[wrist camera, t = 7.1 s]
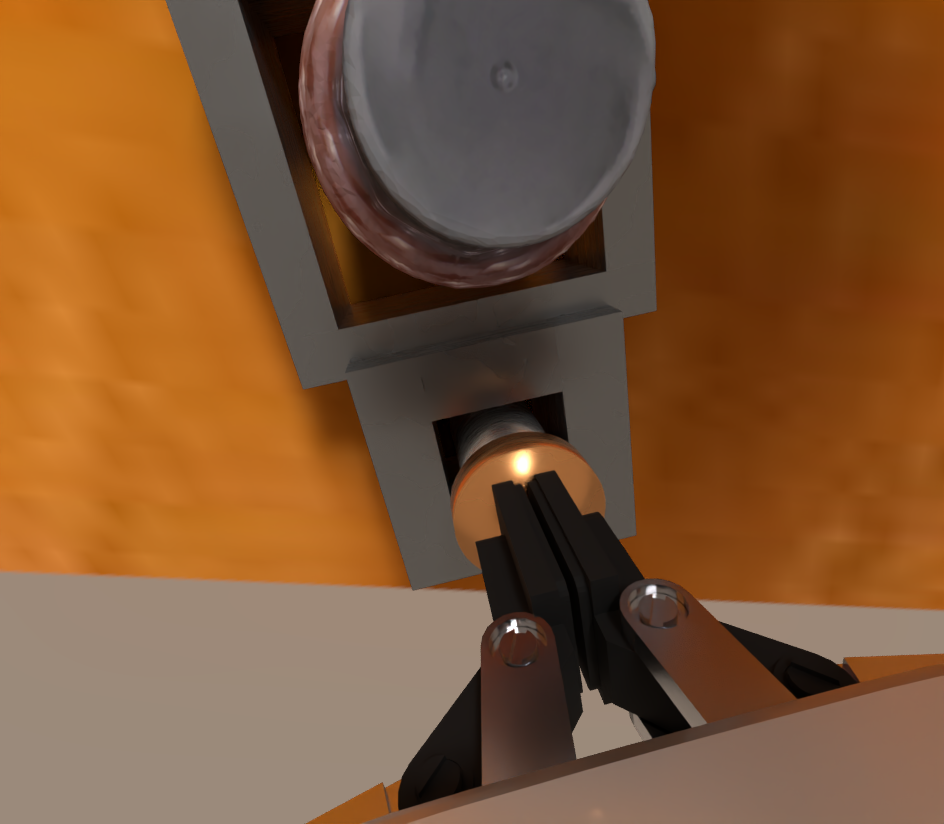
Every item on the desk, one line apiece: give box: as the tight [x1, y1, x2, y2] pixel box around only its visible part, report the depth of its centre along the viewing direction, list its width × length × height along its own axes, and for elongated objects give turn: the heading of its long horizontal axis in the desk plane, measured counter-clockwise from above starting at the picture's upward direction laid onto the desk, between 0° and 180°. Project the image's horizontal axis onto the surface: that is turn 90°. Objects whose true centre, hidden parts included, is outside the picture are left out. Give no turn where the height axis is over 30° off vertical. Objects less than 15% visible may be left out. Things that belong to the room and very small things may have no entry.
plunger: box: [450, 400, 606, 570], centre depth 16 cm, size 4×4×6 cm
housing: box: [166, 0, 657, 590], centre depth 14 cm, size 26×11×5 cm, turn 11°
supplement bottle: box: [298, 0, 656, 289], centre depth 11 cm, size 6×6×11 cm
